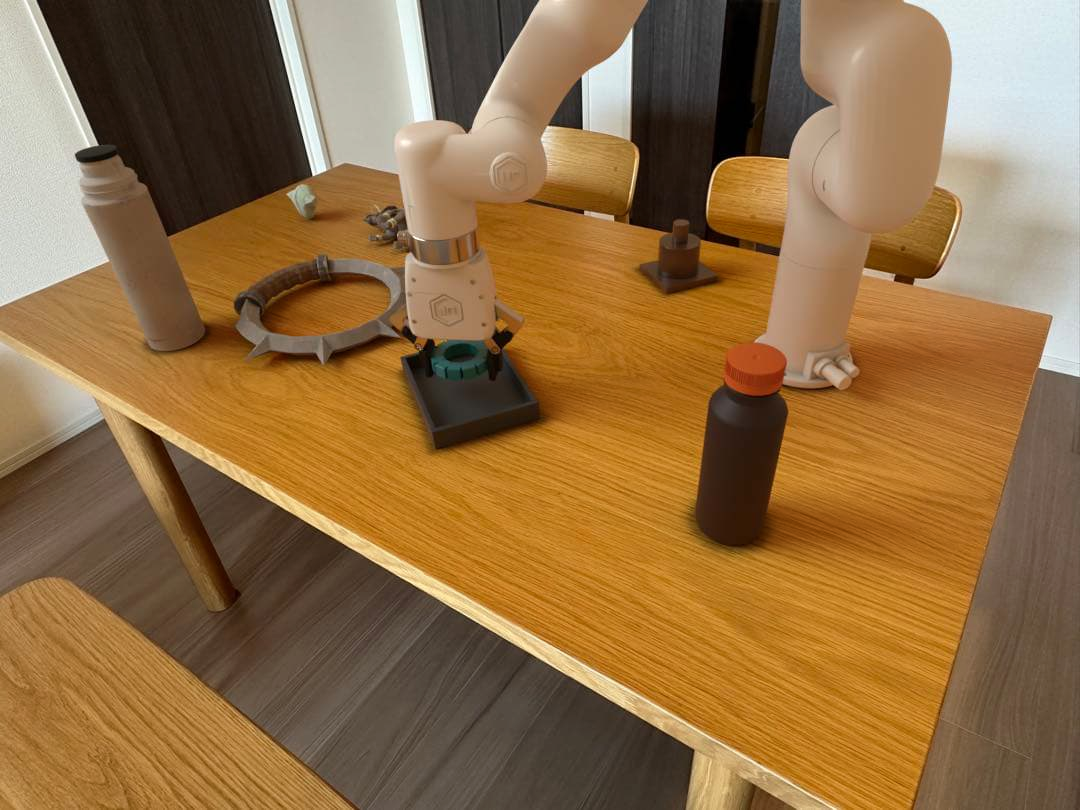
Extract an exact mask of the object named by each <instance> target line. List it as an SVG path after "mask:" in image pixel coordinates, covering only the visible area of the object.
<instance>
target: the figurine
mask: <svg viewBox="0 0 1080 810" xmlns="http://www.w3.org/2000/svg"><path fill="white" fill-rule="evenodd" d="M370 206H371V207H370V212H371V213H370V214H367V215H365V216H364V217H363V219H362V221H364V222H365V223H367V224H368V225H369V226H370V227H373V228H378V229H380V230H382V233H385V234H384V235H381V234H376V235H373V234H372V233H368V236H367V237H368V238H367V239H368V240H369V243H371V242H377V243H382V242H383V241H385V242H386V241H390V240H392V239H395V238H397V234H398V231H405V230H408V227H407V221H406V215H405V209H404V203H402V204H401V207H402V209H399V207H397V206H396V205H392V204H389V205H386V206H385V207H383V209H381V208H380V205H377V204H374V203H372V204H370ZM373 206H374V207H375V208H376V209H377V211H376V212H374V213H373V210H372V209H373ZM392 247H394V250H399V249H403V250H405V249H408V248H409V246H408V244H405V243H399V242H398V241H396V240H395V241H393V246H392Z"/></svg>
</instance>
